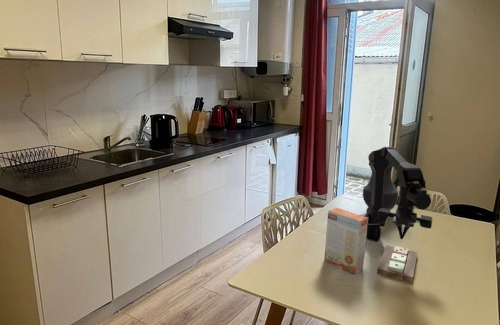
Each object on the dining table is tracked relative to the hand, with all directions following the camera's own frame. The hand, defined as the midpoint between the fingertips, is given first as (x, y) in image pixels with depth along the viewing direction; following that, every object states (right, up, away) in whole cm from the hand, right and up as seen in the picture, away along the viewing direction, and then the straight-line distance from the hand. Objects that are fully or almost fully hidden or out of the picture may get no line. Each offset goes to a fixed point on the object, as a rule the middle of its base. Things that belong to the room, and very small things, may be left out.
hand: (401, 238), depth 138 cm
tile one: (-4, -11, -4) cm, 12 cm away
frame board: (0, -11, +3) cm, 11 cm away
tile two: (0, -10, +2) cm, 10 cm away
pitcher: (+12, +1, +55) cm, 56 cm away
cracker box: (-22, -10, +2) cm, 24 cm away
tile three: (+3, -9, +8) cm, 12 cm away
